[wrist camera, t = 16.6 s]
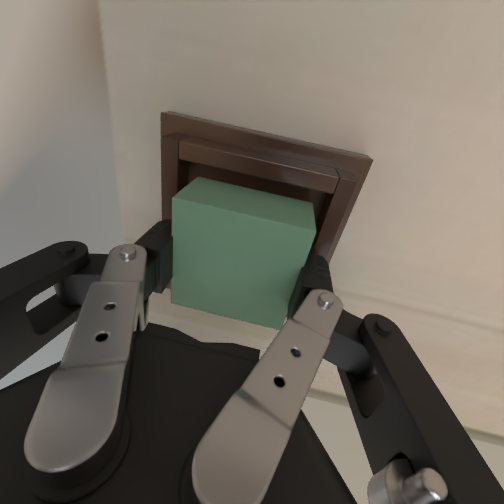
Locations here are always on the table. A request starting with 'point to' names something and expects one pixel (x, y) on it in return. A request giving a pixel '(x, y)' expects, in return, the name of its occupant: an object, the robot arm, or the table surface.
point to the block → (238, 250)
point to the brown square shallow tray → (263, 169)
